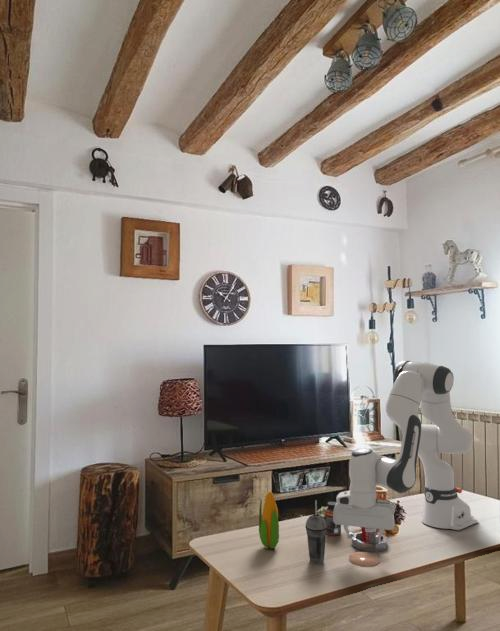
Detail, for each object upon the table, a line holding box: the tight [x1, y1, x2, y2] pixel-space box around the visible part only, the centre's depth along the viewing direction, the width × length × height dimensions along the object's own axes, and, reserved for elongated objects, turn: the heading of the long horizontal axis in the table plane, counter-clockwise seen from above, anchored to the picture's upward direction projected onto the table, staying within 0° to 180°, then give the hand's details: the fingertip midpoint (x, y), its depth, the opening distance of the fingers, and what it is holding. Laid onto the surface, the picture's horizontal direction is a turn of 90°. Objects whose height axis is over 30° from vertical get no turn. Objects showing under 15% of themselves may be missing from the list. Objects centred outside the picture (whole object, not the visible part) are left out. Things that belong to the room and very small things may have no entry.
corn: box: [258, 491, 280, 550], centre depth 180 cm, size 7×8×20 cm
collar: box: [351, 530, 388, 553], centre depth 183 cm, size 13×12×3 cm
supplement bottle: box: [325, 501, 342, 536], centre depth 194 cm, size 6×6×11 cm
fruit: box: [317, 505, 328, 519], centre depth 203 cm, size 9×9×8 cm
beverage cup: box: [305, 499, 327, 566], centre depth 169 cm, size 7×7×20 cm
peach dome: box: [348, 551, 380, 567], centre depth 170 cm, size 10×10×1 cm
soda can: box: [361, 527, 379, 543], centre depth 183 cm, size 6×6×12 cm
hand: (363, 539), depth 170 cm, fingers open, 8 cm apart
